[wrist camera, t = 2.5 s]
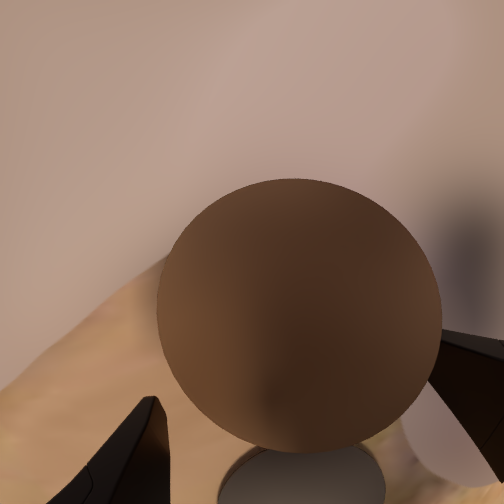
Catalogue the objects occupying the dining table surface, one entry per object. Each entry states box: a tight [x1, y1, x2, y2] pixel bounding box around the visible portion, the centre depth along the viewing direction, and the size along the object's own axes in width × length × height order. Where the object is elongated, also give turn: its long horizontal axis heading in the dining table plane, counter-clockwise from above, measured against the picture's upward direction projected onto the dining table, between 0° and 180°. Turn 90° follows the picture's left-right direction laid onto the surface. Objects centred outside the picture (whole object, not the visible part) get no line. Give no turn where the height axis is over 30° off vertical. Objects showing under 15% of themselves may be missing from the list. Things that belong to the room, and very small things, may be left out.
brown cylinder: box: [157, 179, 442, 454], centre depth 11 cm, size 6×6×13 cm
